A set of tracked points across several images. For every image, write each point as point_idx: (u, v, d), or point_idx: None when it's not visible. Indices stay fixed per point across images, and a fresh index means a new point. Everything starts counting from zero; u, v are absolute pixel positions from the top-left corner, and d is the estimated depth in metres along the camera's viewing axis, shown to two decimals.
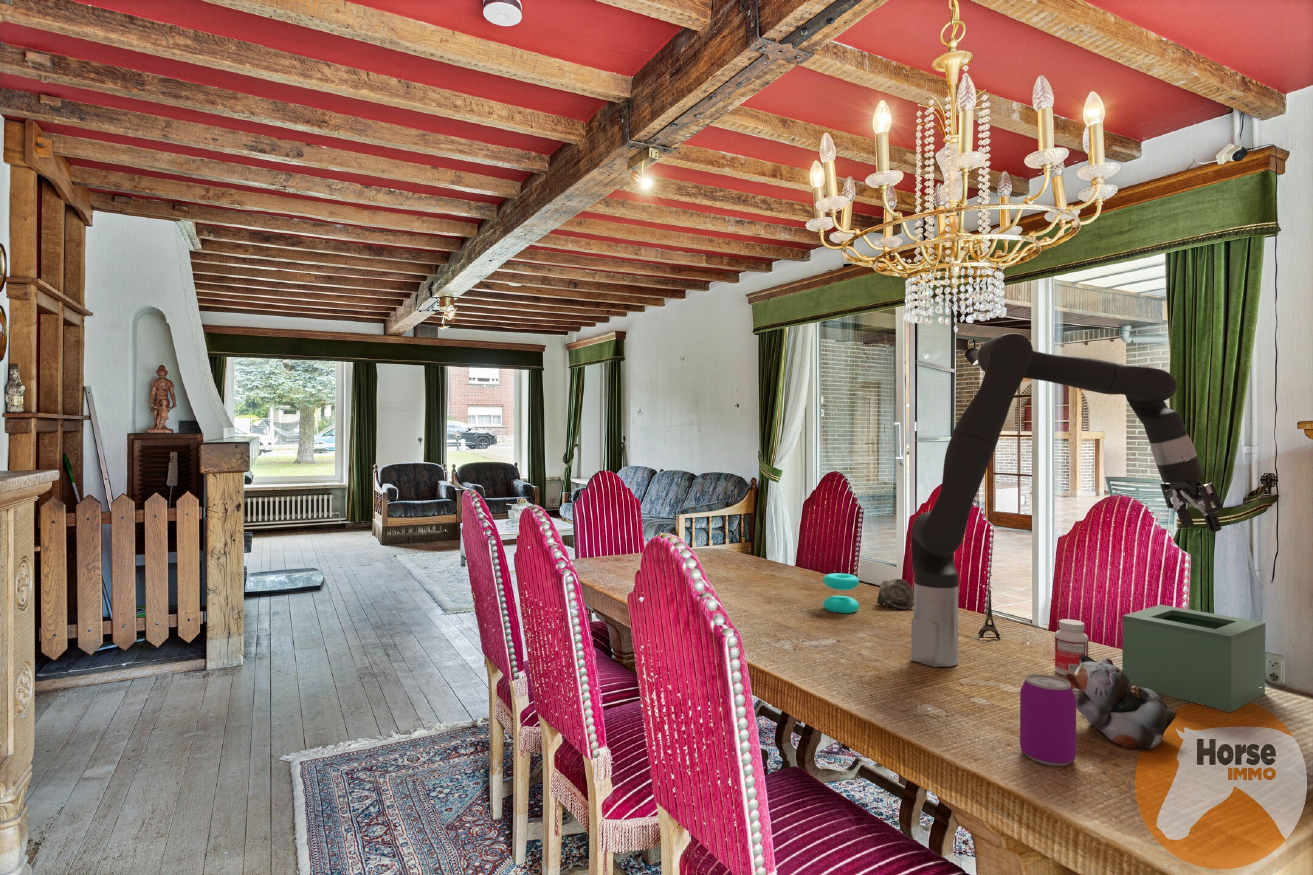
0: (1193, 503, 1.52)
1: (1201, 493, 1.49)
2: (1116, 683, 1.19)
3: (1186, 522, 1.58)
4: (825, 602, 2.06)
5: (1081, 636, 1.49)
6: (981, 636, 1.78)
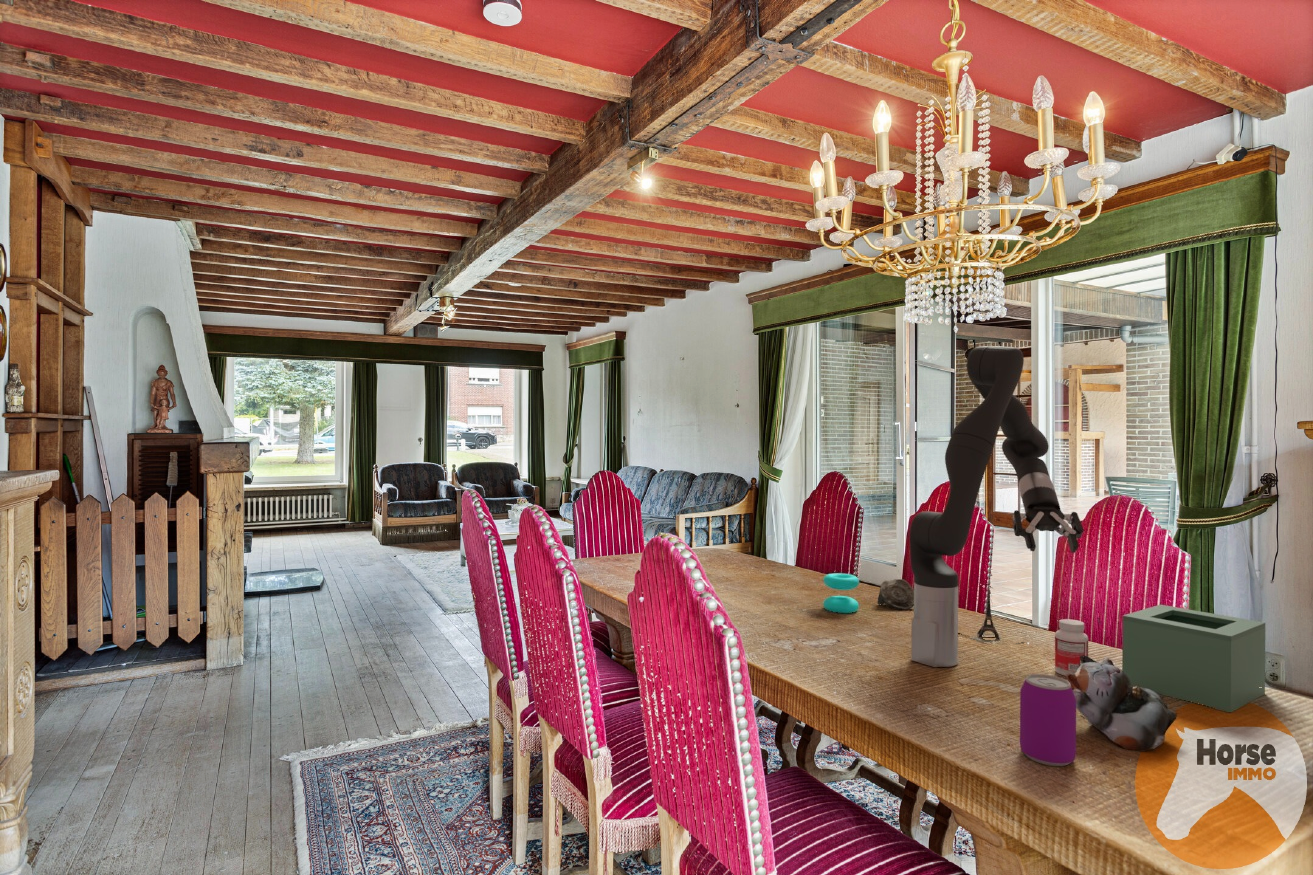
0: (1063, 522, 1.65)
1: (1074, 516, 1.67)
2: (1117, 684, 1.19)
3: None
4: (825, 602, 2.06)
5: (1081, 636, 1.49)
6: (980, 636, 1.78)
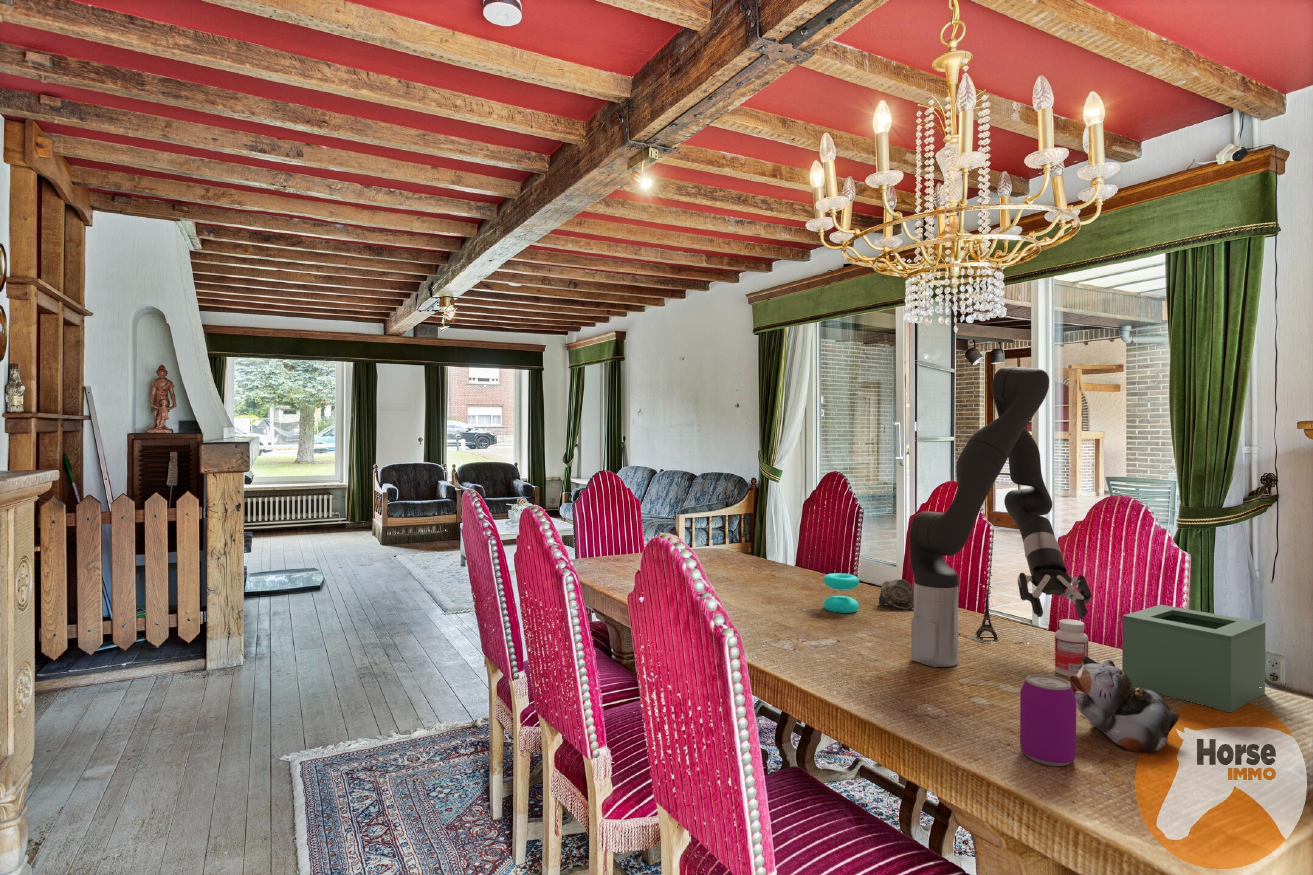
0: (1071, 587, 1.60)
1: (1081, 580, 1.61)
2: (1119, 685, 1.18)
3: None
4: (825, 602, 2.06)
5: (1081, 636, 1.49)
6: (978, 636, 1.78)
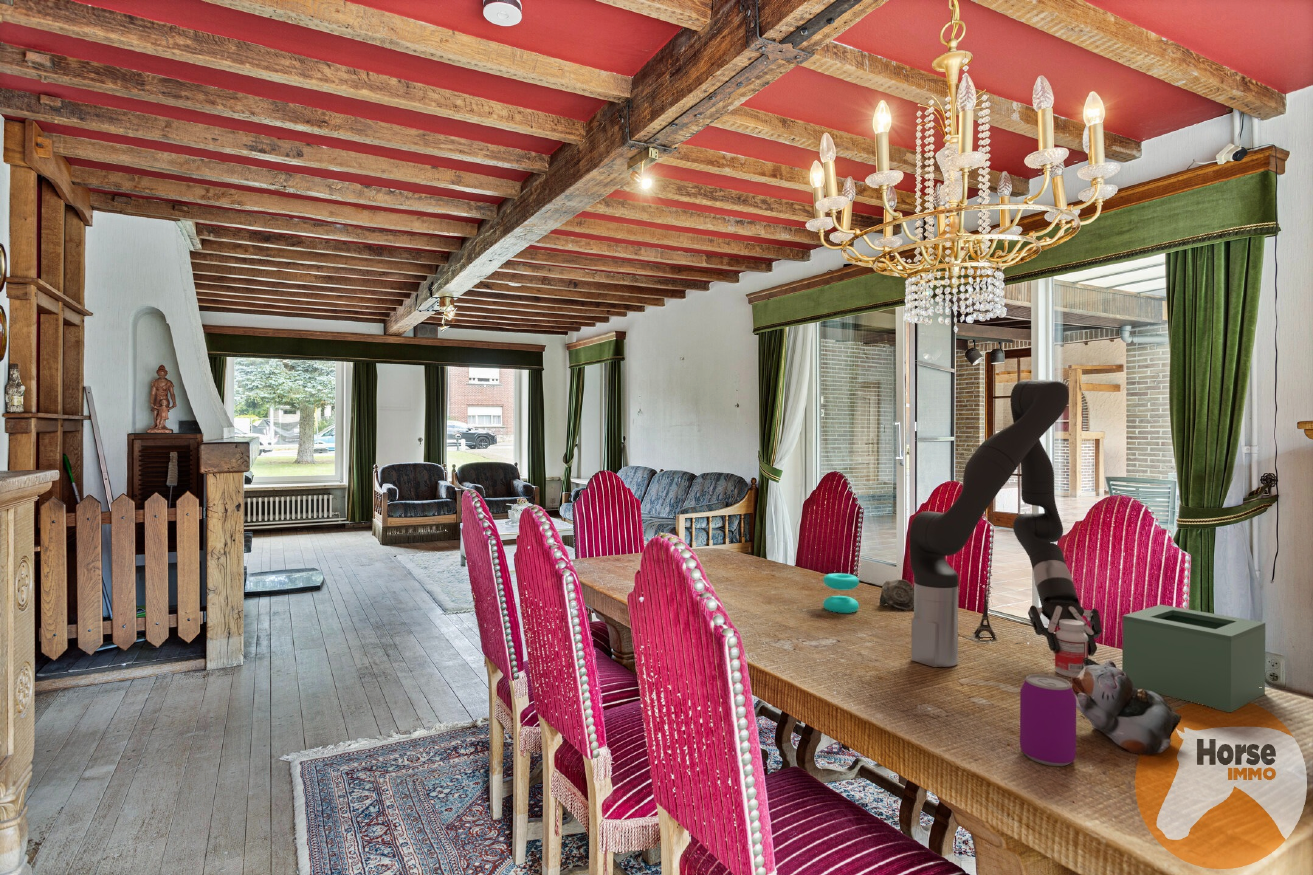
0: (1082, 620, 1.53)
1: (1094, 614, 1.54)
2: (1122, 687, 1.18)
3: None
4: (825, 602, 2.06)
5: (1081, 636, 1.49)
6: (977, 636, 1.78)
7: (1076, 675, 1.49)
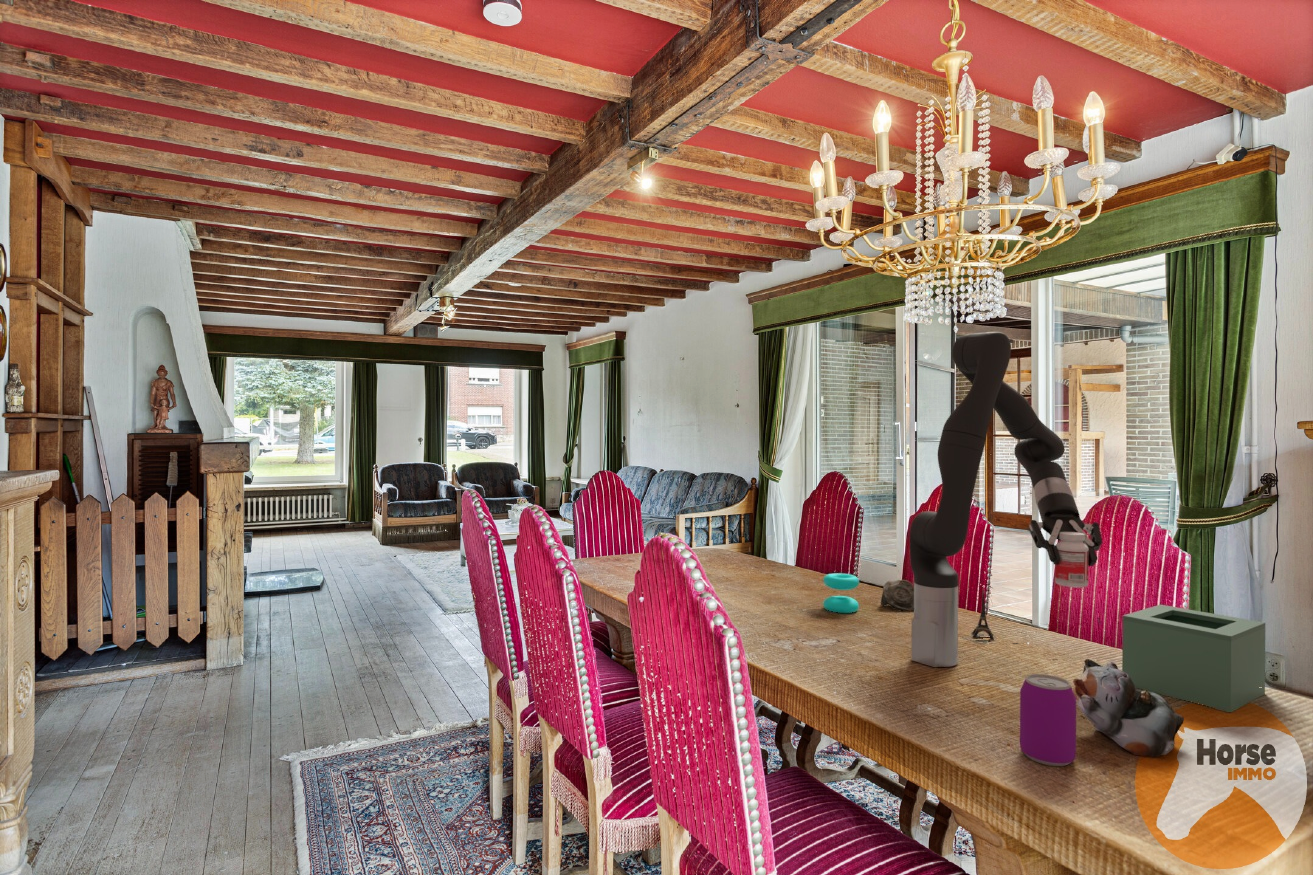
0: (1082, 532, 1.53)
1: (1095, 527, 1.54)
2: (1125, 688, 1.17)
3: None
4: (825, 602, 2.06)
5: (1082, 546, 1.49)
6: (974, 636, 1.78)
7: (1076, 585, 1.49)
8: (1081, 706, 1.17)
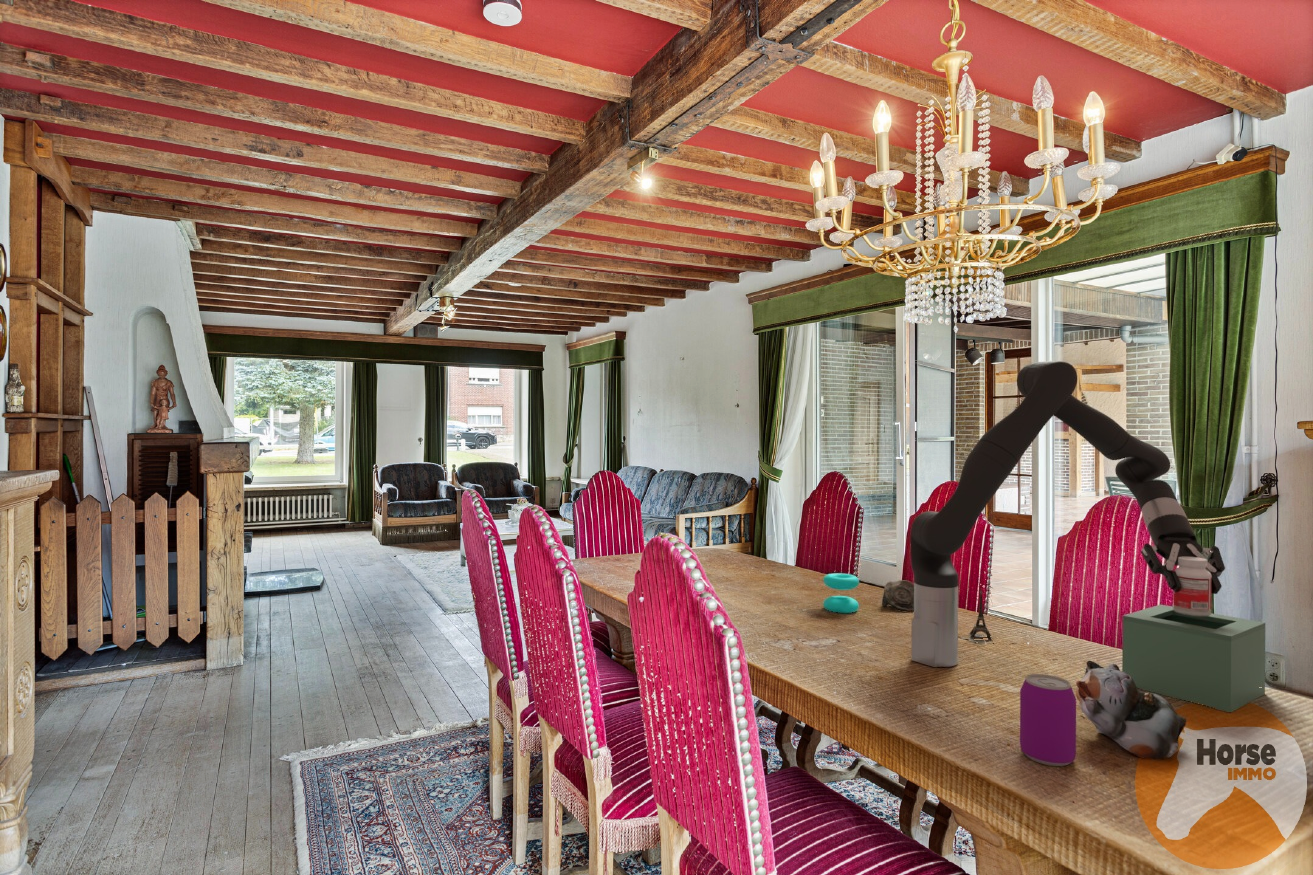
0: (1202, 557, 1.44)
1: (1215, 551, 1.45)
2: (1128, 690, 1.16)
3: None
4: (825, 602, 2.06)
5: (1205, 572, 1.40)
6: (972, 637, 1.78)
7: (1199, 614, 1.40)
8: (1085, 708, 1.16)
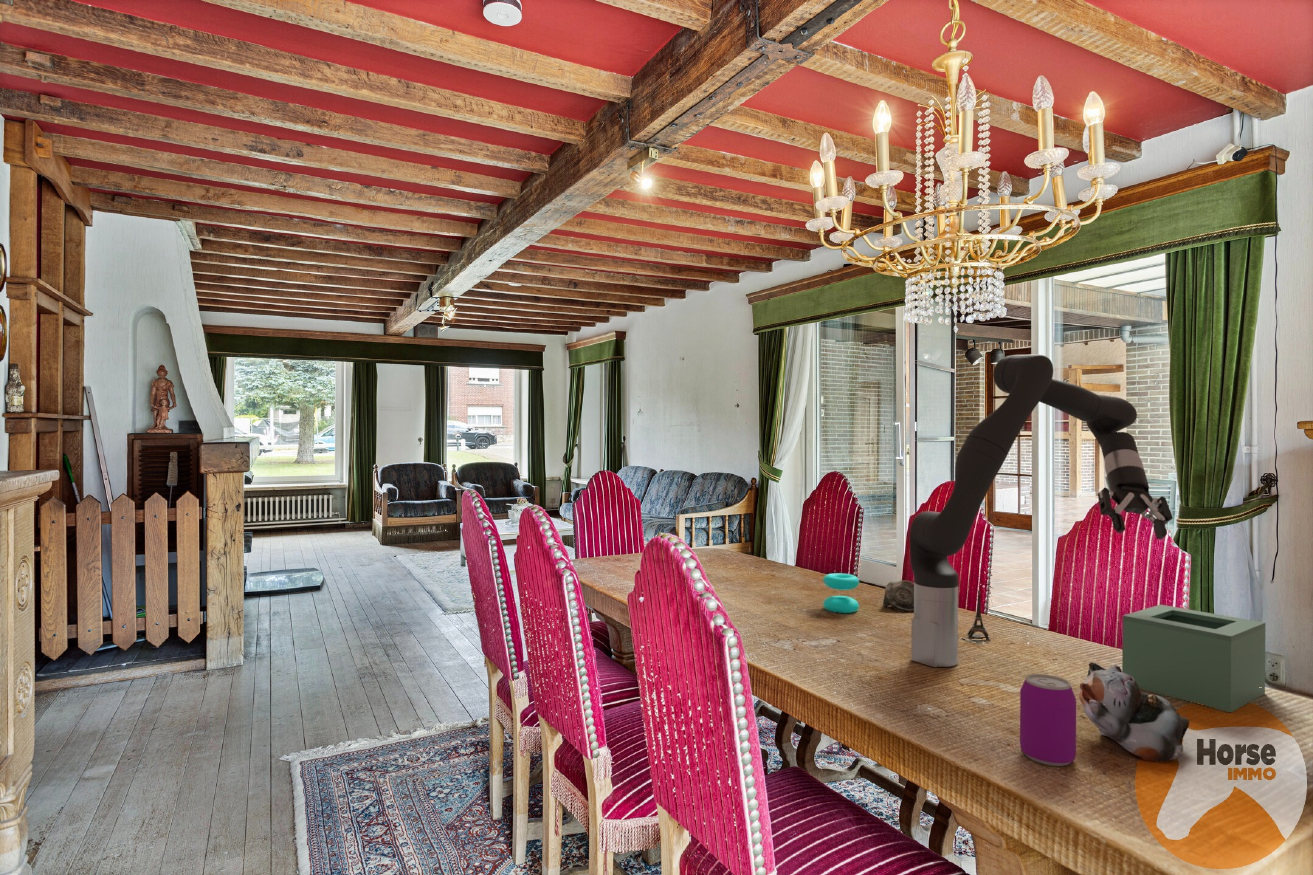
0: (1153, 507, 1.59)
1: (1163, 501, 1.60)
2: (1132, 692, 1.15)
3: None
4: (825, 602, 2.06)
5: None
6: (970, 637, 1.77)
7: None
8: (1089, 711, 1.14)
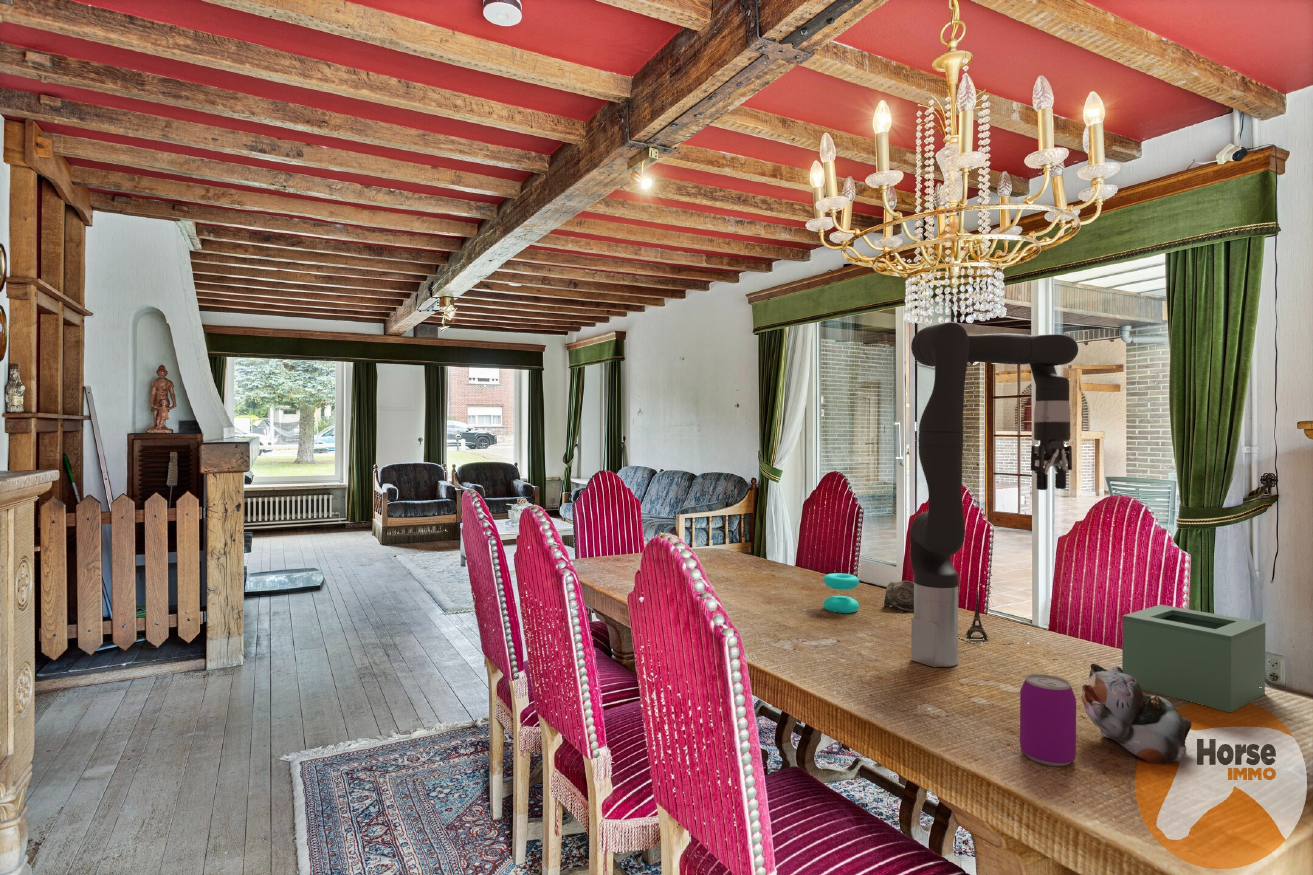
0: (1065, 461, 1.68)
1: (1069, 451, 1.70)
2: (1134, 693, 1.15)
3: None
4: (825, 602, 2.06)
5: None
6: (968, 637, 1.77)
7: None
8: (1092, 713, 1.14)
